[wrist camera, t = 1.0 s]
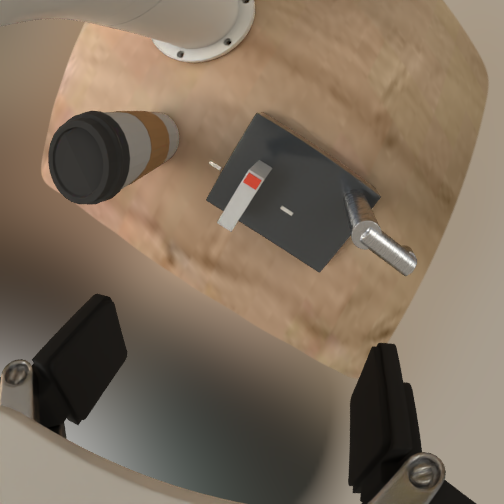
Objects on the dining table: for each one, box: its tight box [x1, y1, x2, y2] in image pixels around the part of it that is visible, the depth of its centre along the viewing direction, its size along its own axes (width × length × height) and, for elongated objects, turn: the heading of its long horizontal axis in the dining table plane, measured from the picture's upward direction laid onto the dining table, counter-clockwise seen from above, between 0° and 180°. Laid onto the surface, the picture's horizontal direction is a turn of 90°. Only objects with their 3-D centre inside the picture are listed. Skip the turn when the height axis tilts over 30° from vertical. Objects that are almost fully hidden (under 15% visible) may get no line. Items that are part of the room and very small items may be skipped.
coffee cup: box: [48, 111, 179, 204], centre depth 28 cm, size 8×8×15 cm
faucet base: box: [206, 112, 381, 273], centre depth 33 cm, size 17×11×4 cm, turn 59°
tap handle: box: [217, 160, 272, 232], centre depth 30 cm, size 6×2×5 cm, turn 149°
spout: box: [343, 190, 417, 276], centre depth 26 cm, size 7×2×9 cm, turn 59°
